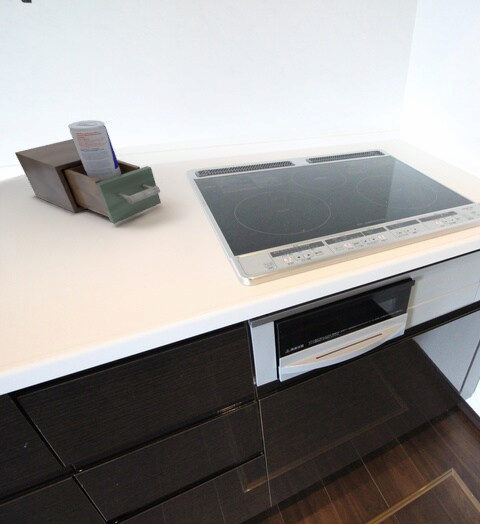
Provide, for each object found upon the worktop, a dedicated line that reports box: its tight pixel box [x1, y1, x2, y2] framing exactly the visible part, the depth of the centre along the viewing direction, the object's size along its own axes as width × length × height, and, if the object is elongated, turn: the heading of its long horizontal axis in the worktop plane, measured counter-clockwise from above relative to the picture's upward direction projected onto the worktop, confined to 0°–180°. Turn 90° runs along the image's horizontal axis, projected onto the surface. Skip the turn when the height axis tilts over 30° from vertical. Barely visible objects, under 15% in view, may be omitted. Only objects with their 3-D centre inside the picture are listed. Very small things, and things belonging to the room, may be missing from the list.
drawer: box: [63, 159, 162, 224], centre depth 71 cm, size 17×10×8 cm, turn 62°
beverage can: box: [67, 119, 122, 182], centre depth 69 cm, size 6×6×15 cm
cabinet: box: [14, 138, 118, 214], centre depth 76 cm, size 14×12×10 cm
